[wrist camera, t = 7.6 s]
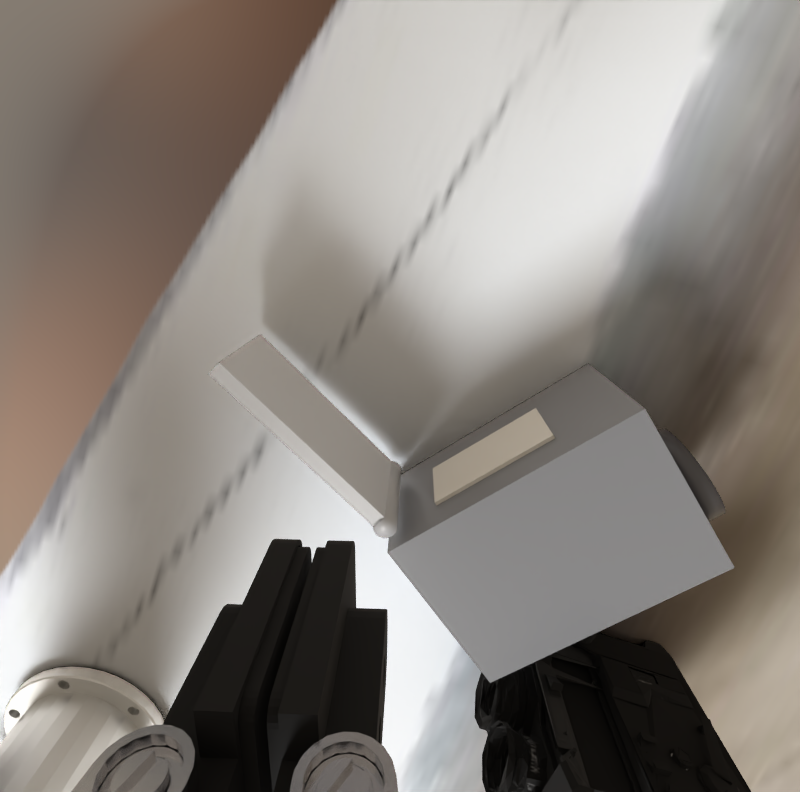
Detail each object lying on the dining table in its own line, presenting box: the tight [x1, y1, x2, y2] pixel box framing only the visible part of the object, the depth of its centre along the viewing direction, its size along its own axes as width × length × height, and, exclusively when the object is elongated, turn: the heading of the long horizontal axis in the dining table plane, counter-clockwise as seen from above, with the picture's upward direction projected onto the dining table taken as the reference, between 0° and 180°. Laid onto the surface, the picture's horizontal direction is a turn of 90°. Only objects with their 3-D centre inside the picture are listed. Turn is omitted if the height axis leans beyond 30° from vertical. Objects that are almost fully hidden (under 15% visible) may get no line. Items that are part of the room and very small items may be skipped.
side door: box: [208, 334, 401, 538], centre depth 28 cm, size 12×2×6 cm, turn 44°
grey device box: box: [388, 363, 735, 683], centre depth 29 cm, size 15×10×8 cm
